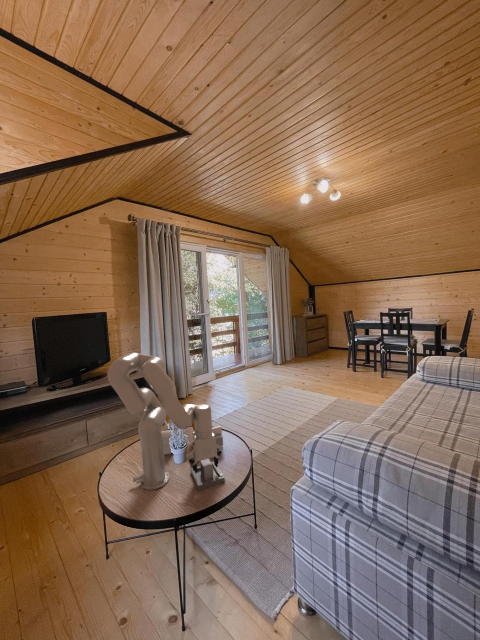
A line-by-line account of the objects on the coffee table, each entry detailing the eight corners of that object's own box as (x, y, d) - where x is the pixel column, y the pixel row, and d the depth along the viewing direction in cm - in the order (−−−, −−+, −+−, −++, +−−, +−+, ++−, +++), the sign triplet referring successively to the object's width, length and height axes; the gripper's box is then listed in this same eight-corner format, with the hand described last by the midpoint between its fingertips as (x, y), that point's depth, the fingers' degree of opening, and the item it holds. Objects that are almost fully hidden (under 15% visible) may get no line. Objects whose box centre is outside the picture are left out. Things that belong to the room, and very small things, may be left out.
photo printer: (176, 449, 149) (174, 428, 149) (175, 453, 145) (173, 431, 144) (156, 452, 148) (155, 430, 147) (155, 456, 144) (153, 434, 143)
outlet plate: (200, 458, 139) (198, 436, 138) (197, 453, 144) (195, 431, 143) (225, 451, 145) (223, 429, 144) (221, 446, 150) (220, 425, 149)
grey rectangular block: (204, 481, 120) (203, 468, 119) (200, 472, 126) (199, 460, 126) (213, 478, 121) (212, 465, 121) (209, 469, 128) (208, 457, 127)
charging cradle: (198, 490, 115) (198, 485, 115) (190, 472, 128) (190, 468, 128) (224, 481, 120) (224, 476, 120) (214, 465, 133) (214, 460, 132)
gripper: (186, 440, 116) (189, 479, 117) (224, 431, 123) (226, 467, 124) (183, 433, 122) (185, 469, 124) (219, 425, 129) (220, 459, 130)
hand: (206, 468), depth 124 cm, fingers open, 9 cm apart
